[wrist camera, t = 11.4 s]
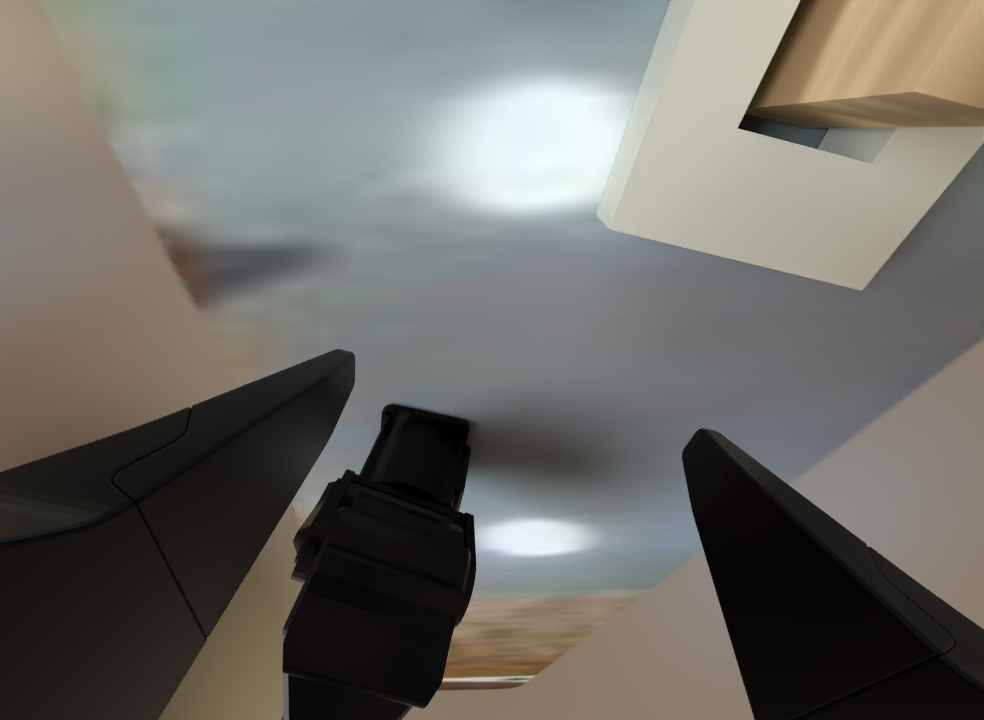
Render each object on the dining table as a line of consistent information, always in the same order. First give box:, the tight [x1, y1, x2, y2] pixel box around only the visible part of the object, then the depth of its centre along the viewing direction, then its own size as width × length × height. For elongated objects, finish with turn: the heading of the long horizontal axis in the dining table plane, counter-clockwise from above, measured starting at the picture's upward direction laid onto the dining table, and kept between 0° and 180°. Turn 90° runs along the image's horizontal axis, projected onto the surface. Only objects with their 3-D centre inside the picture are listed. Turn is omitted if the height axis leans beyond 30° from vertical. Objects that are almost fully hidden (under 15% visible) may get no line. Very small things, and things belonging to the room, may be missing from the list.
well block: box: [596, 0, 984, 291], centre depth 13 cm, size 12×16×4 cm
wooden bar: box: [745, 0, 984, 128], centre depth 11 cm, size 4×5×9 cm
